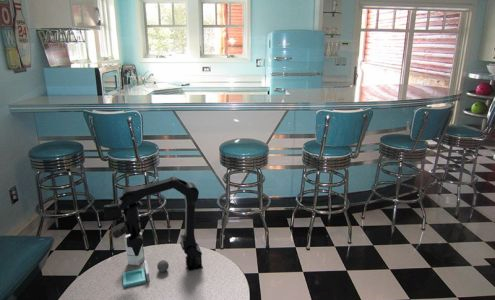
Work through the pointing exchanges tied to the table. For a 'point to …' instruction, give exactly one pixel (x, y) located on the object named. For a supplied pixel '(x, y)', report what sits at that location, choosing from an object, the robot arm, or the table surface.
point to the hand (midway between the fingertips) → (136, 250)
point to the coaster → (134, 277)
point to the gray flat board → (146, 270)
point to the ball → (162, 266)
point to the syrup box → (131, 256)
